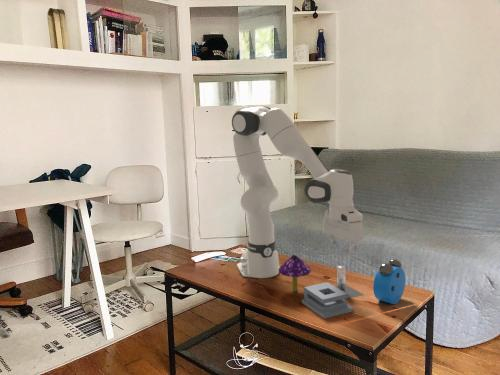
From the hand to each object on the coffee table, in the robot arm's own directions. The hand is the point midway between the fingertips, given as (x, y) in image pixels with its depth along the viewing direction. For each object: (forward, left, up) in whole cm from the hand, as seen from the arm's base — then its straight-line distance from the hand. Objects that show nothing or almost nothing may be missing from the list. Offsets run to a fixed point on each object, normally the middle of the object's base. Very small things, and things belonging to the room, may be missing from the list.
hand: (342, 249), depth 150 cm
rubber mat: (0, 0, -17) cm, 17 cm away
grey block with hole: (+8, -12, -17) cm, 23 cm away
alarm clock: (+14, +10, -18) cm, 25 cm away
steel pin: (0, 0, -17) cm, 17 cm away
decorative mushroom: (-9, -15, -18) cm, 25 cm away
